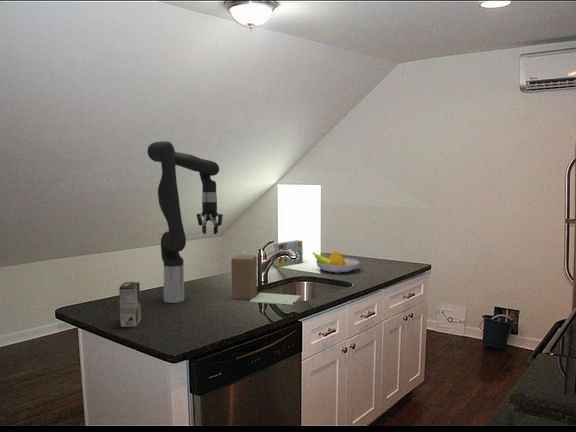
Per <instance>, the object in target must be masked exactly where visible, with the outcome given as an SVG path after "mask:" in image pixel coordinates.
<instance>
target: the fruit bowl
mask: <svg viewBox="0 0 576 432" xmlns="http://www.w3.org/2000/svg"><path fill="white" fill-rule="evenodd" d="M312 255H313V256H314V257H315V259H316V260H315V262H316V265H317V267H318V268H319V269H321V270H323V271H325V272H327V271H329V273H332V272H335V273H334V274H342V273H341V272H345V273H349V271H350V272H351V271H354V270H356V268H357V267H358V266H359V264H360V261H359V260H357V259H352V258H347V257H346V258H344V257H343V255H342V254H341V253H340V252H339V251H333V252H331V254H330V255H329V256H328V257H325V256H322V255H321V254H317V253H315V252H314V251H313V252H312Z"/></svg>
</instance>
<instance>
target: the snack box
mask: <svg viewBox="0 0 576 432" xmlns="http://www.w3.org/2000/svg"><path fill="white" fill-rule="evenodd" d="M283 249H291V250H293V251H295V252H297V253H298V255H299V258H298V259H289V258H288V257H286V256H284V257H280V258H279V259H277V260H276V261H275V263H273V266H274V267H277V268H282V267H288V266H292V265H298V264H303V261H304V259H303V258H304V257H303V255H304V254H303V240H297V239H296V240H290V241H282V242H276V243H273V254H274V253H275V252H277V251H280V250H283Z"/></svg>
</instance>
